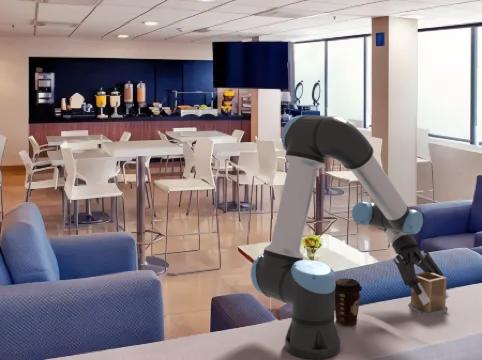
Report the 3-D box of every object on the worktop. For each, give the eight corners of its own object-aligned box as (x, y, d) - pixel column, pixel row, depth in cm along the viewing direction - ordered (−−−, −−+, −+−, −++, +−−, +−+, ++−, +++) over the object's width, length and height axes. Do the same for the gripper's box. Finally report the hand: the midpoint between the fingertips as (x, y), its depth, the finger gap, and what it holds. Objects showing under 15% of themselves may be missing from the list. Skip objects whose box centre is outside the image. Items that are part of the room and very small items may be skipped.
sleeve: (410, 305, 191) (411, 275, 190) (427, 301, 195) (428, 271, 193) (428, 312, 185) (429, 281, 183) (445, 308, 188) (446, 277, 187)
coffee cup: (359, 318, 185) (360, 277, 183) (362, 328, 177) (363, 286, 175) (331, 317, 186) (332, 277, 184) (332, 327, 178) (333, 286, 176)
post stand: (402, 313, 189) (403, 286, 187) (415, 302, 198) (416, 276, 197) (440, 321, 182) (441, 293, 180) (452, 309, 191) (453, 282, 190)
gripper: (417, 241, 205) (452, 300, 194) (372, 249, 196) (405, 312, 184) (430, 229, 200) (466, 289, 189) (383, 236, 190) (419, 301, 179)
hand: (436, 300), depth 186 cm, fingers closed on sleeve, 7 cm apart
